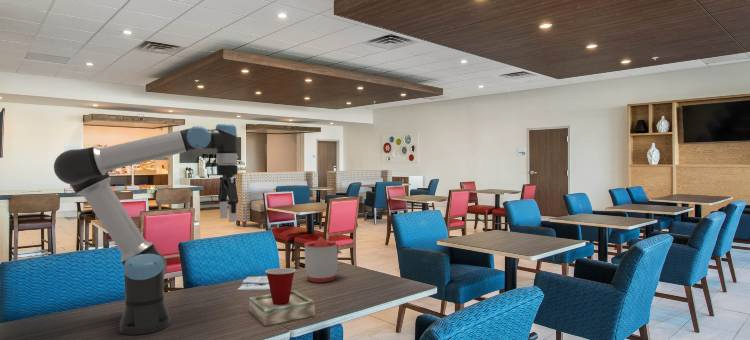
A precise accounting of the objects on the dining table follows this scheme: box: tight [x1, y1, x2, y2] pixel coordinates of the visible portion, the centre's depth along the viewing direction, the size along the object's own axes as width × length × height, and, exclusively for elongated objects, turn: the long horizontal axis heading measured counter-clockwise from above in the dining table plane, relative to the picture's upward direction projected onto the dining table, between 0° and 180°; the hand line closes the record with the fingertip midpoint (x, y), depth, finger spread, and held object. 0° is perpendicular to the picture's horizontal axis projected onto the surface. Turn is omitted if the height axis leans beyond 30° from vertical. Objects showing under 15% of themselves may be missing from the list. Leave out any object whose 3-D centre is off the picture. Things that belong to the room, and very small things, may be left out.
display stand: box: [248, 289, 316, 327], centre depth 165 cm, size 18×18×5 cm
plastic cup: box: [265, 267, 296, 305], centre depth 165 cm, size 11×11×12 cm
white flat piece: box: [236, 275, 270, 291], centre depth 205 cm, size 19×20×2 cm
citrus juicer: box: [303, 236, 343, 283], centre depth 211 cm, size 16×17×20 cm
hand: (228, 220), depth 175 cm, fingers open, 13 cm apart
